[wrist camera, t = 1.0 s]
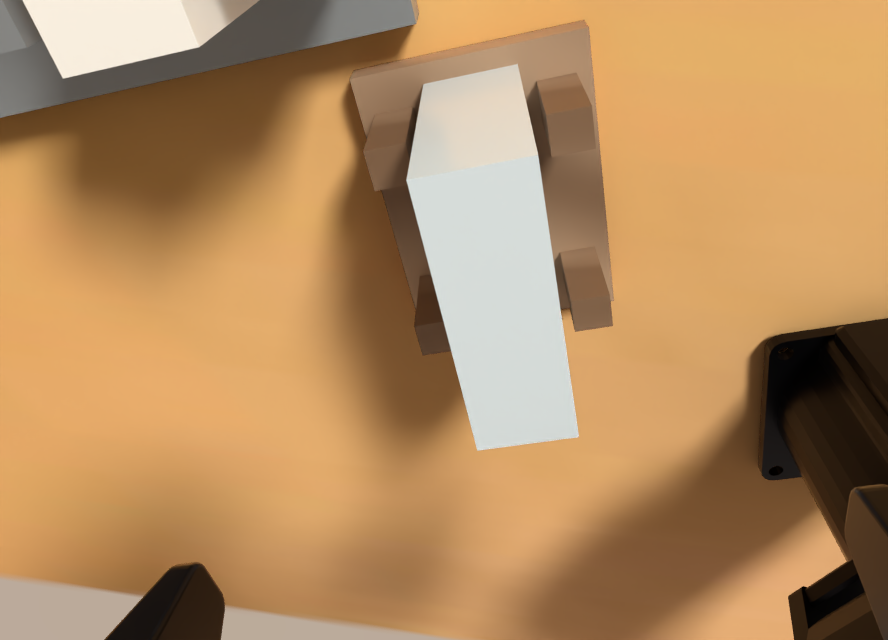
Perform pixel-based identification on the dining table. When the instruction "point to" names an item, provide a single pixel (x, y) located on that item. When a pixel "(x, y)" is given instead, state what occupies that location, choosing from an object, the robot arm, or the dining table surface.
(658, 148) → the dining table surface
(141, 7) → the white rectangular block
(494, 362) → the white long rectangular block
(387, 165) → the stand
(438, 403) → the dining table surface
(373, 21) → the rack
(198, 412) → the dining table surface
